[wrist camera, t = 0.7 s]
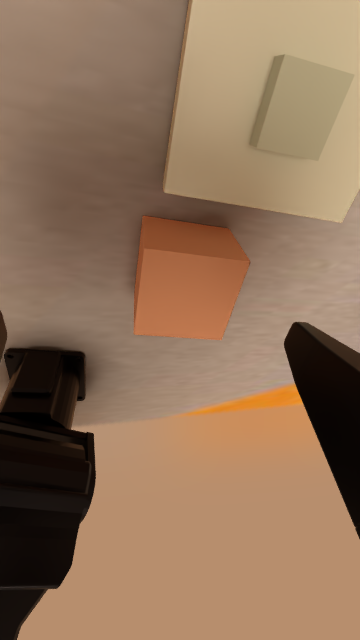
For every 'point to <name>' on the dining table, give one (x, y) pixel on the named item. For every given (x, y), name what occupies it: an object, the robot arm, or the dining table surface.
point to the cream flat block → (268, 106)
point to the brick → (186, 279)
